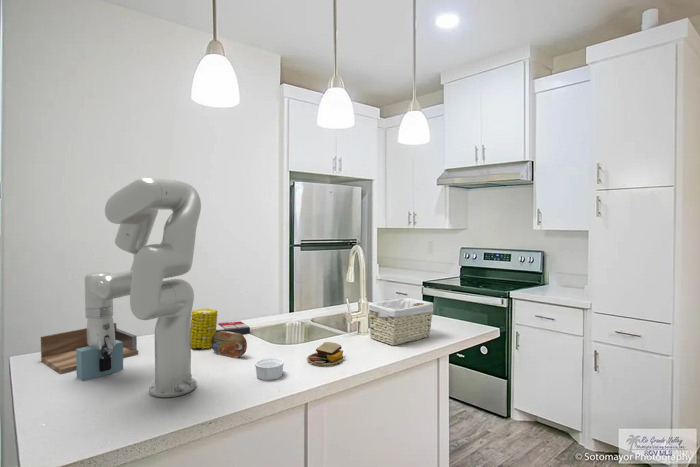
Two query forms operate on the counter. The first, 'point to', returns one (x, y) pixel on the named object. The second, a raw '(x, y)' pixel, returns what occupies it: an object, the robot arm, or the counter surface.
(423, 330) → the storage basket
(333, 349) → the toy sandwich meal
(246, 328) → the red white box
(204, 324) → the food
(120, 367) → the book
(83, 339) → the shelf
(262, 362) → the ramekin
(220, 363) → the counter surface
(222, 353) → the tin
